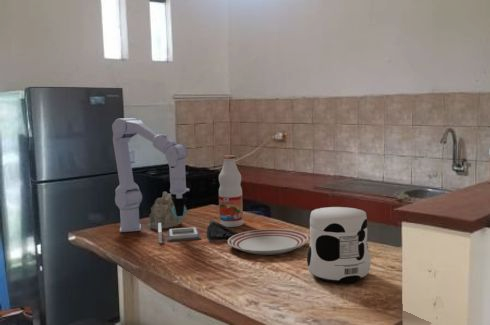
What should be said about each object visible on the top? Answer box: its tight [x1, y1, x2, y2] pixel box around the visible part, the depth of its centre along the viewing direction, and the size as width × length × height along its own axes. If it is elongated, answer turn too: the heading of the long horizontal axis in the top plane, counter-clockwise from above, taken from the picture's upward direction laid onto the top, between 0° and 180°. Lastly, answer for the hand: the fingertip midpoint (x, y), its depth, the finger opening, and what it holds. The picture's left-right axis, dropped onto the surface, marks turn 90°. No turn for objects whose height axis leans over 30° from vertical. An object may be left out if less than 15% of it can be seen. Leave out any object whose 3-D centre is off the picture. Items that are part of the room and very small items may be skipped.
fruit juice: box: [218, 154, 244, 228], centre depth 196 cm, size 9×9×28 cm
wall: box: [157, 223, 163, 244], centre depth 181 cm, size 14×1×4 cm, turn 10°
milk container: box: [306, 206, 371, 283], centre depth 136 cm, size 17×17×18 cm
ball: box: [172, 204, 188, 219], centre depth 181 cm, size 6×6×6 cm
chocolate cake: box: [205, 219, 240, 242], centre depth 179 cm, size 10×7×12 cm
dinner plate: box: [226, 228, 310, 256], centre depth 166 cm, size 28×27×3 cm
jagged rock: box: [146, 191, 183, 230], centre depth 202 cm, size 16×16×15 cm
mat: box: [166, 226, 202, 243], centre depth 183 cm, size 12×12×2 cm
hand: (179, 214), depth 181 cm, fingers closed on ball, 5 cm apart
